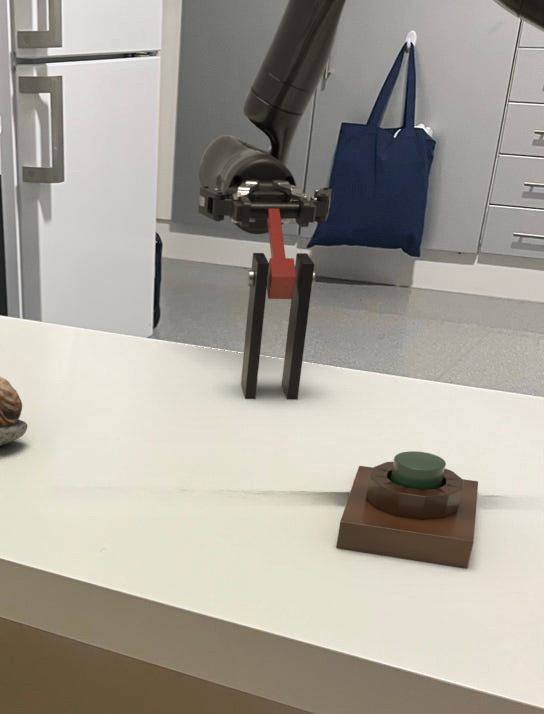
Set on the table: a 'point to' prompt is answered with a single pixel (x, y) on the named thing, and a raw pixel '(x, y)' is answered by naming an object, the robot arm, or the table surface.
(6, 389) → the bison figurine
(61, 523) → the table surface
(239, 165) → the robot arm
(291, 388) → the bracket
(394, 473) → the button
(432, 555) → the button block
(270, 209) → the lever
